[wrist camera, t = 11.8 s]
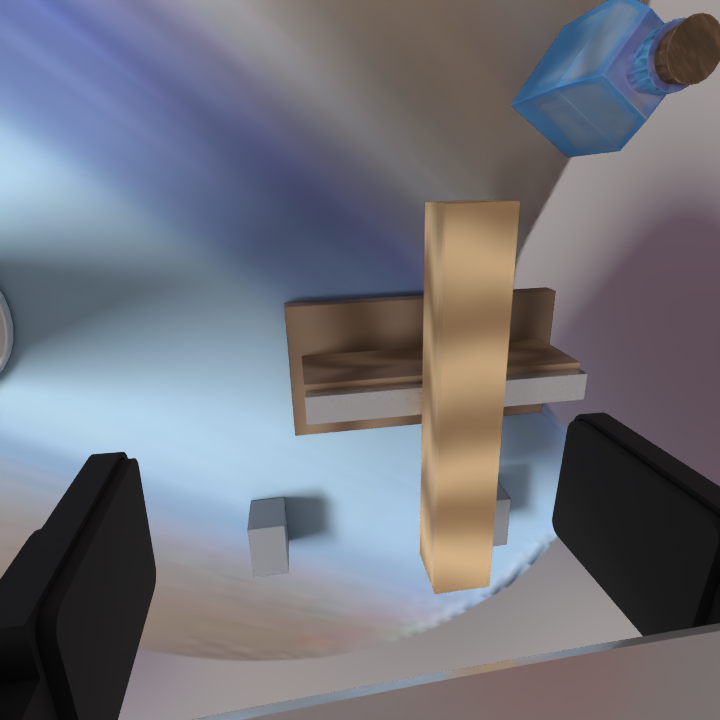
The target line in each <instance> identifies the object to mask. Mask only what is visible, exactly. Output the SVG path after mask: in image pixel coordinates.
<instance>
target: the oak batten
mask: <svg viewBox="0 0 720 720" xmlns="http://www.w3.org/2000/svg"><path fill="white" fill-rule="evenodd" d="M519 209H520V201H509V200H467V201H440V202H425V252H424V316H423V381H422V445H421V510H420V555H421V558H422V561H423V563H424V566H425V569H426V572H427V574H428V577H429V580H430V582H431V585H432V588H433V591H434V593H435V594H439V593H446V592H453V591H460V590H467V589H474V588H481V587H487V586H489V584H490V571H491V559H492V546H493V534H494V521H495V509H496V496H497V484H498V471H499V459H500V446H501V434H502V421H503V409H504V396H505V384H506V371H507V359H508V346H509V334H510V321H511V309H512V296H513V284H514V271H515V259H516V246H517V234H518V221H519Z"/></svg>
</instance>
